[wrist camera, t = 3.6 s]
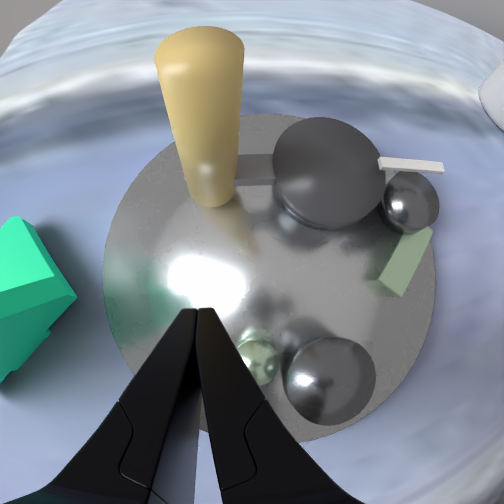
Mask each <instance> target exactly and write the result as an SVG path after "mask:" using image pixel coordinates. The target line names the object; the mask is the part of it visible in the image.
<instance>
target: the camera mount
mask: <svg viewBox="0 0 504 504" xmlns="http://www.w3.org/2000/svg"><path fill="white" fill-rule="evenodd" d="M77 298H78V297H77V295H76V294H75V292H74V291H73V290H72V288H71V287H70V285H69V284H68V282H67V281H66V279H65V278H64V276H63V275H62V273H61V272H60V270H59V269H58V267H57V265H56V264H55V262H54V261H53V259H52V257H51V256H50V254H49V253H48V251H47V249H46V248H45V246H44V244H43V243H42V241H41V239H40V238H39V236H38V234H37V232H36V231H35V229H34V227H33V226H32V225H31V224H30V223H28V222H27V221H25V220H23V219H22V218H20V217H18V216H14V217H11V218H10V219H9V220H8V221H7V222H6V223H5V224H4V225H3V226H2V228H1V229H0V383H1V382H2V381H3V380H4V379H5V377H6V376H7V375H8V374H9V373H10V371H17V370H18V369H19V368H20V367H21V366H22V364H23V363H24V362H25V361H26V360H27V359H28V358H29V357H30V355H31V354H32V353H33V352H34V351H35V350H36V349H37V348H38V346H39V345H40V344H41V343H42V342H43V341H44V340H45V339H46V338H47V337H48V336H49V335H50V333H51V331H50V330H49V327H50V326H51V325H52V324H53V323H54V322H55V321H56V320H57V319H58V318H59V317H60V316H61V314H62V313H63V312H64V311H65V310H66V309H67V308H68V307H69V306H70V305H71V304H72V303H73V302H74V301H75V300H76V299H77Z"/></svg>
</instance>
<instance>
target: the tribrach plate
mask: <svg viewBox="0 0 504 504" xmlns="http://www.w3.org/2000/svg"><path fill="white" fill-rule="evenodd" d="M304 119H305V118H301V117H296V116H290V115H280V114H251V115H243V116H240V128H239V146H238V155H244V154H273V152H274V148H275V145H276V142H277V140H278V138H279V137H280V135H281V134H282V133H283V132H284V131H285V130H286V129H287V128H288V127H289V126H291V125H292V124H294V123H296V122H298V121H301V120H304ZM385 173H386V184H385V190H384V193H383V196H382V198H381V200H380V201H379V203H378V204H377V206H376V207H375V208H374V209H373V210H372V211H371V212H370V213H368V214H367V215H366V216H365V217H364V218H363V219H361V220H360V221H358V222H356V223H354V224H352V225H350V226H346V227H340V228H326V227H320V226H317V225H313V224H311V223H308V222H306V221H304V220H303V219H301V218H299V217H298V216H296V215H295V214H294V213H292V212H291V211H290V210H289V209H288V208H287V207H286V206H285V205H284V204H283V202H282V201H281V200H280V198H279V197H278V195H277V193H276V191H275V189H274V186H273V185H262V186H236V191H235V193H234V195H233V197H232V198H231V199H230V200H229V201H228V202H227V203H225V204H223V205H221V206H218V207H205V206H202V205H200V204H198V203H197V202H195V201H194V200H193V198H192V197H191V195H190V193H189V190H188V186H187V183H186V179H185V175H184V172H183V168H182V165H181V161H180V158H179V154H178V150H177V146H176V143H175V142H173V143H172V144H170V145H169V146H168V147H166V148H165V149H164V150H162V151H161V152H160V153H159V154H158V155H157V156H156V157H155V158H153V159H152V160H151V161H150V162H149V163H148V164H147V165H146V166H145V167H144V169H143V170H142V171H141V172H140V174H139V175H138V176H137V177H136V179H135V180H134V181H133V182H132V184H131V185H130V187H129V189H128V190H127V192H126V193H125V195H124V197H123V199H122V200H121V202H120V204H119V206H118V209H117V211H116V213H115V216H114V218H113V220H112V223H111V226H110V230H109V234H108V237H107V241H106V245H105V252H104V260H103V294H104V301H105V308H106V314H107V317H108V320H109V324H110V327H111V330H112V334H113V337H114V339H115V341H116V343H117V345H118V348H119V350H120V352H121V354H122V356H123V358H124V360H125V361H126V363H127V364H128V366H129V367H130V369H131V370H132V372H133V373H134V375H136V373H137V372H138V370H139V369H140V367H141V366H142V364H143V363H144V362H145V360H146V359H147V357H148V356H149V354H150V353H151V352H152V350H153V349H154V347H155V346H156V344H157V343H158V342H159V340H160V339H161V337H162V336H163V334H164V333H165V332H166V330H167V329H168V327H169V326H170V325H171V323H172V322H173V320H174V319H175V318H176V316H177V315H178V313H179V312H180V311H181V309H183V308H197V310H198V309H199V308H202V307H213V308H214V309H215V311H216V313H217V315H218V316H219V318H220V320H221V322H222V324H223V325H224V327H225V329H226V331H227V332H228V334H229V336H230V338H231V339H232V341H233V343H234V345H235V346H236V348H237V350H238V352H239V353H240V355H241V357H242V359H243V360H244V362H245V364H246V365H247V367H248V369H249V370H250V372H251V374H252V376H253V377H254V379H255V381H256V382H257V384H258V386H259V387H260V389H261V390H262V392H263V394H264V395H265V397H266V399H267V400H268V402H269V403H270V405H271V406H272V408H273V410H274V411H275V413H276V414H277V416H278V417H279V419H280V420H281V422H282V423H283V424H284V426H285V427H286V429H287V430H288V431H289V432H290V434H291V435H292V436H293V437H294V438H295V440H296V441H297V442H298V443H301V442H307V441H311V440H315V439H318V438H321V437H324V436H328V435H331V434H333V433H335V432H338V431H340V430H342V429H344V428H346V427H348V426H350V425H352V424H354V423H355V422H357V421H359V420H360V419H362V418H363V417H365V416H366V415H368V414H369V413H371V412H372V411H373V410H374V409H375V408H377V407H378V406H379V405H380V404H381V403H382V402H383V401H385V400H386V399H387V398H388V397H389V396H390V395H391V394H392V392H393V391H394V390H395V389H396V388H397V387H398V386H399V384H400V383H401V382H402V381H403V379H404V378H405V376H406V375H407V373H408V372H409V370H410V369H411V367H412V366H413V364H414V363H415V361H416V359H417V357H418V354H419V352H420V350H421V348H422V346H423V344H424V341H425V338H426V335H427V332H428V329H429V326H430V323H431V318H432V313H433V307H434V301H435V285H436V279H435V263H434V257H433V251H432V246H431V241H430V238H431V236H432V234H433V230H432V229H431V228H430V227H429V225H431V224H432V223H433V222H434V221H435V220H436V218H437V216H438V213H439V200H438V196H437V193H436V191H435V189H434V187H433V186H432V184H431V183H430V182H429V181H428V180H427V179H426V178H425V177H424V176H423V175H421V174H419V173H417V172H406V171H400V172H398V173H397V174H395V172H394V171H389V170H385ZM199 429H201V430H203V431H205V432H208V427H207V421H206V415H205V409H204V403H203V397H202V403H201V414H200V426H199ZM208 433H209V432H208Z"/></svg>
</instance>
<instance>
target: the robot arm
mask: <svg viewBox="0 0 504 504" xmlns="http://www.w3.org/2000/svg"><path fill="white" fill-rule="evenodd" d="M202 397H203V403H204V409H205V415H206V421H207V427H208V432H209V438H210V443H211V449H212V454H213V459H214V464H215V469H216V474H217V479H218V483H219V488H220V491H221V497H222V502H223V504H365V503H363V502H361V501H359V500H357V499H356V498H354V497H352V496H351V495H349V494H348V493H347V492H345V491H344V490H343V489H342V488H341V487H339V486H338V485H337V484H336V483H335V482H334V481H333V480H332V479H331V478H330V477H329V476H328V475H327V474H326V473H325V472H324V471H323V470H322V469H321V467H320V466H319V465H318V464H317V463H316V462H315V461H314V460H313V459H312V458H311V457H310V456H309V454H308V453H307V452H306V451H305V450H304V449H303V448H302V447H301V446H300V444H299V443H298V442H297V441H296V440H295V438H294V437H293V436H292V435H291V434H290V432H289V431H288V430H287V429H286V427H285V426H284V424H283V423H282V422H281V420H280V419H279V417H278V416H277V414H276V413H275V411H274V410H273V408H272V406H271V405H270V403H269V402H268V400H267V399H266V397H265V395H264V394H263V392H262V390H261V389H260V387H259V386H258V384H257V382H256V381H255V379H254V377H253V376H252V374H251V372H250V370H249V369H248V367H247V365H246V364H245V362H244V360H243V359H242V357H241V355H240V353H239V352H238V350H237V348H236V346H235V345H234V343H233V341H232V339H231V338H230V336H229V334H228V332H227V331H226V329H225V327H224V325H223V324H222V322H221V320H220V318H219V316H218V315H217V313H216V311H215V309H214V308H213V307H202V308H199V309H198V310H197V308H183V309H181V311H180V312H179V313H178V315H177V316H176V318H175V319H174V320H173V322H172V323H171V325H170V326H169V327H168V329H167V330H166V332H165V333H164V334H163V336H162V337H161V339H160V340H159V342H158V343H157V344H156V346H155V347H154V349H153V350H152V352H151V353H150V354H149V356H148V357H147V359H146V360H145V362H144V363H143V364H142V366H141V367H140V369H139V370H138V372H137V373H136V375H135V376H134V378H133V379H132V380H131V382H130V383H129V385H128V386H127V388H126V389H125V391H124V392H123V394H122V395H121V396H120V398H119V402H118V401H117V402H116V403H115V405H114V406H113V408H112V409H111V411H110V412H109V414H108V415H107V417H106V418H105V419H104V421H103V422H102V423H101V425H100V426H99V428H98V429H97V430H96V431H95V432H94V434H93V435H92V436H91V437H90V438H89V440H88V441H87V442H86V443H85V444H84V446H83V447H82V448H81V449H80V450H79V451H78V452H77V454H76V455H75V456H74V457H73V458H72V459H71V461H70V462H69V463H68V464H67V465H66V466H65V467H64V469H63V470H62V471H61V472H60V473H59V474H58V475H57V476H56V477H55V478H54V479H53V480H52V481H51V482H50V483H49V484H47V485H46V486H45V487H43V488H41V489H40V490H38V491H36V492H33V493H31V494H28V495H26V496H23V497H20V498H18V499H15V500H12V501H9V502H7V503H4V504H194V494H195V479H196V464H197V451H198V438H199V426H200V414H201V403H202Z"/></svg>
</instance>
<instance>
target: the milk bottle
mask: <svg viewBox="0 0 504 504" xmlns="http://www.w3.org/2000/svg"><path fill="white" fill-rule="evenodd" d="M479 97H480V101H481V103H482V105H483V107H484V109H485V111H486V112H487V114H488V115H489V117H490V118H491V119H492V121H493V122H494V123H495V124H496V125H497V126H498V127H499V128H500V129H501V130H502V131H503V132H504V60H503V61H502V62H501V63H500V64H499V65H498V66H497V67H496V69H495V70H494V71H493V72H492V73H491V74H490V75H489V76H488V78H487V79H486V80H485V81H484V82H483V83H482V85H481V86H480V89H479Z"/></svg>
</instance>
